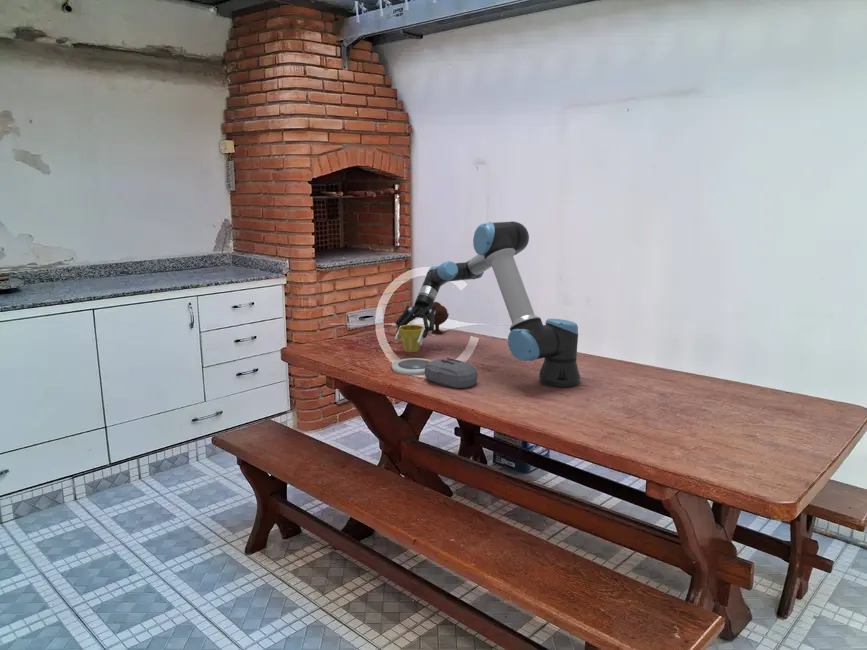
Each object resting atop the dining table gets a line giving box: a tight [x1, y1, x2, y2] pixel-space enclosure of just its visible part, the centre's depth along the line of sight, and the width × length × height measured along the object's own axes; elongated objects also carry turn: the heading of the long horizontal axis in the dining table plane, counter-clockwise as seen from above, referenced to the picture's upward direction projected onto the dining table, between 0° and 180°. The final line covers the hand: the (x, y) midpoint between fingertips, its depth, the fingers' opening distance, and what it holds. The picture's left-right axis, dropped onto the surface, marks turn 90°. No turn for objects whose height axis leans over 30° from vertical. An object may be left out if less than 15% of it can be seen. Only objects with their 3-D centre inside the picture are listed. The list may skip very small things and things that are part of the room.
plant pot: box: [399, 324, 425, 353], centre depth 273 cm, size 10×10×10 cm
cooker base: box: [391, 357, 433, 376], centre depth 258 cm, size 18×18×2 cm
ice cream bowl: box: [427, 301, 450, 335], centre depth 313 cm, size 11×11×15 cm
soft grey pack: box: [424, 357, 479, 389], centre depth 241 cm, size 15×8×20 cm
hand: (407, 342), depth 271 cm, fingers closed on plant pot, 10 cm apart
